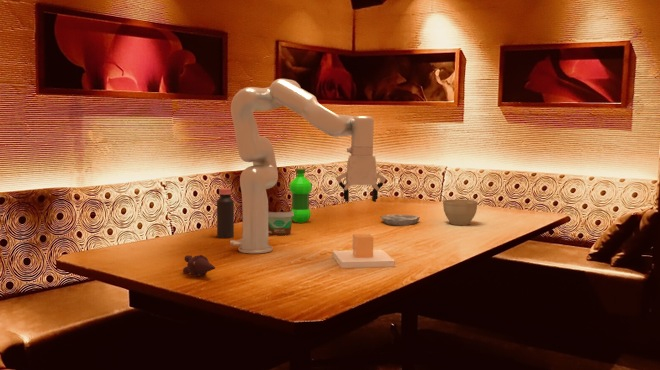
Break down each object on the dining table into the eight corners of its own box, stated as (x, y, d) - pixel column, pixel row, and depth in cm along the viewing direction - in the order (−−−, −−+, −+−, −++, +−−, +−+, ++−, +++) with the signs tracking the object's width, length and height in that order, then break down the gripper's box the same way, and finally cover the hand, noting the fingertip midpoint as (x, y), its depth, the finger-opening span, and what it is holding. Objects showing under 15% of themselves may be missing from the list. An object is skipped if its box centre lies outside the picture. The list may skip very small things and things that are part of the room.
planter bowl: (474, 221, 309) (475, 199, 308) (479, 227, 293) (479, 203, 292) (441, 220, 310) (441, 198, 309) (443, 226, 294) (444, 203, 293)
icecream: (225, 257, 197) (195, 254, 207) (206, 255, 192) (176, 252, 202) (222, 280, 196) (192, 276, 206) (203, 278, 191) (173, 274, 201)
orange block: (355, 257, 218) (356, 237, 218) (352, 254, 224) (352, 234, 224) (373, 257, 219) (373, 237, 219) (369, 253, 225) (369, 234, 224)
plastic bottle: (311, 223, 297) (311, 170, 295) (288, 223, 298) (288, 170, 295) (312, 220, 307) (312, 168, 305) (290, 220, 308) (290, 168, 305)
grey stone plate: (394, 219, 316) (395, 213, 316) (424, 222, 305) (425, 216, 305) (371, 224, 301) (372, 217, 301) (402, 228, 290) (402, 221, 290)
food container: (267, 237, 265) (267, 213, 264) (265, 234, 271) (265, 210, 269) (296, 235, 268) (296, 212, 267) (293, 233, 274) (293, 210, 273)
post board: (341, 268, 212) (342, 248, 211) (332, 256, 229) (333, 238, 229) (394, 266, 215) (394, 247, 214) (381, 255, 232) (382, 237, 232)
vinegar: (230, 238, 260) (230, 190, 257) (214, 238, 261) (214, 189, 259) (236, 235, 266) (235, 188, 264) (220, 235, 268) (220, 187, 265)
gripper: (338, 152, 215) (337, 202, 217) (389, 153, 217) (387, 203, 219) (335, 150, 222) (334, 199, 224) (383, 151, 225) (382, 200, 226)
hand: (360, 201), depth 222 cm, fingers open, 9 cm apart
